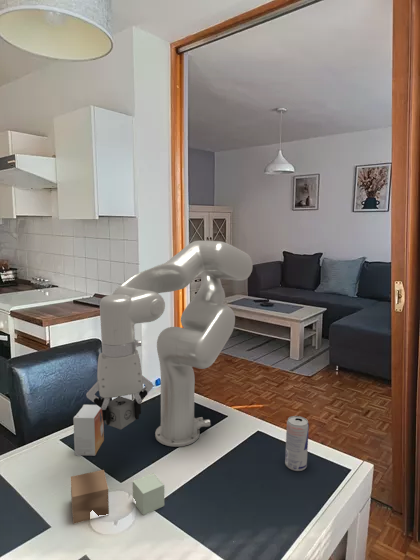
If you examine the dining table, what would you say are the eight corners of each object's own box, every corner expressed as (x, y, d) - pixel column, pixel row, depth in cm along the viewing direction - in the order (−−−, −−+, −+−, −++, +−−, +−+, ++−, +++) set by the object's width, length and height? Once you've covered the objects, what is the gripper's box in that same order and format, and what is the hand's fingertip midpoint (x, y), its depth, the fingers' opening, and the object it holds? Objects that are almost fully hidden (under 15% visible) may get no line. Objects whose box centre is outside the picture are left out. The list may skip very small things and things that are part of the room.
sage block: (153, 493, 90) (153, 472, 89) (164, 506, 86) (164, 484, 85) (132, 502, 87) (132, 481, 86) (143, 515, 83) (143, 493, 82)
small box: (95, 456, 104) (94, 418, 102) (74, 455, 104) (72, 417, 103) (104, 440, 112) (103, 404, 110) (84, 439, 112) (83, 403, 110)
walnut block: (104, 494, 90) (103, 469, 89) (108, 515, 83) (108, 488, 82) (71, 502, 87) (70, 476, 86) (73, 524, 80) (72, 497, 80)
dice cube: (120, 429, 93) (119, 409, 92) (105, 424, 95) (104, 404, 94) (135, 420, 97) (134, 400, 96) (120, 414, 99) (119, 396, 99)
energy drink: (308, 462, 102) (310, 418, 101) (304, 474, 98) (306, 427, 96) (287, 457, 105) (289, 413, 103) (282, 468, 100) (284, 423, 98)
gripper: (151, 339, 99) (153, 406, 102) (78, 347, 93) (83, 419, 96) (159, 348, 93) (161, 420, 96) (80, 358, 86) (85, 435, 89)
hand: (122, 419), depth 96 cm, fingers closed on dice cube, 6 cm apart
